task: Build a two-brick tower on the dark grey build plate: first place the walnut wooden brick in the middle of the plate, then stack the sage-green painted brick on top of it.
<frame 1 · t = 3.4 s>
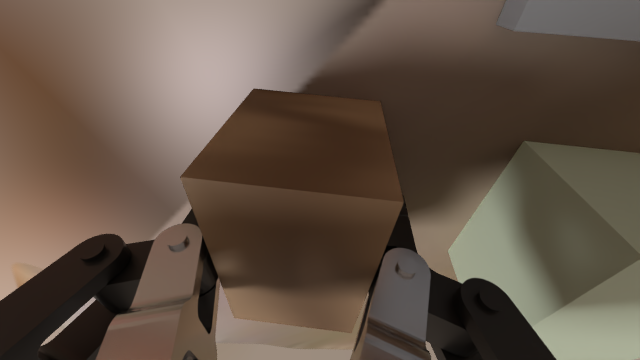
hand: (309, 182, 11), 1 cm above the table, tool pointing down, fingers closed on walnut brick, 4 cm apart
walnut brick: (312, 172, 11), on the table, touching gripper
sage brick: (526, 210, 11), on the table
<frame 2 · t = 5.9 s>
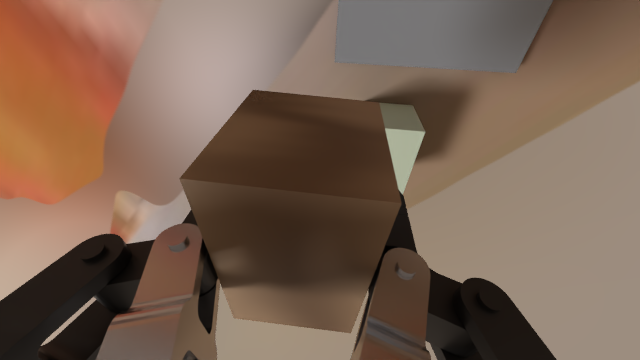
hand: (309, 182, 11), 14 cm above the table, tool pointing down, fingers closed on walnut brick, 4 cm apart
walnut brick: (311, 173, 11), point 14 cm above the table, touching gripper
sage brick: (380, 136, 25), on the table
when the fingers open (3 cm above the table, at t = 8.5 s): walnut brick drops 1 cm, resting on build plate.
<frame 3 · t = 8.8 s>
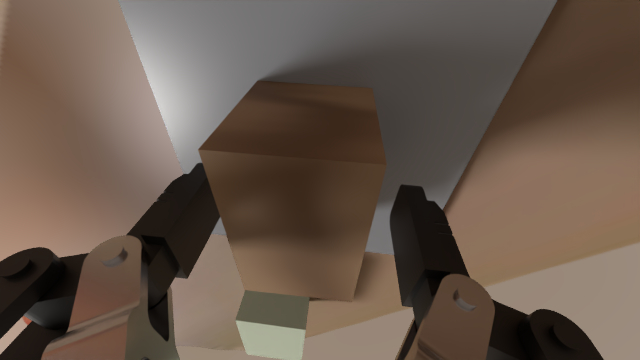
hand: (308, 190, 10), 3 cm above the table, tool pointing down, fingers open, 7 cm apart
build plate: (316, 146, 13), on the table
walnut brick: (312, 158, 12), point 1 cm above the table, touching build plate
sage brick: (286, 278, 22), on the table
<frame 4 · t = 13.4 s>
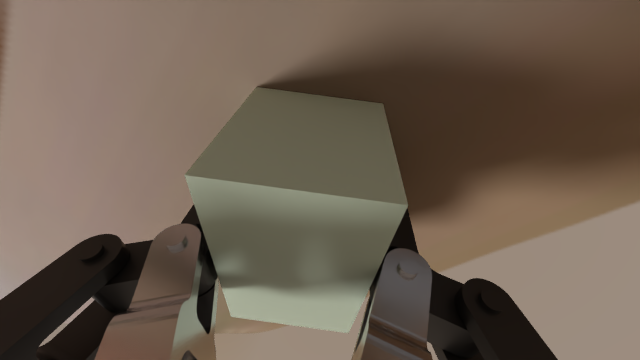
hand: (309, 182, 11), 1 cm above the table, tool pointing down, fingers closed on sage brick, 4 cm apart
sage brick: (312, 172, 11), on the table, touching gripper
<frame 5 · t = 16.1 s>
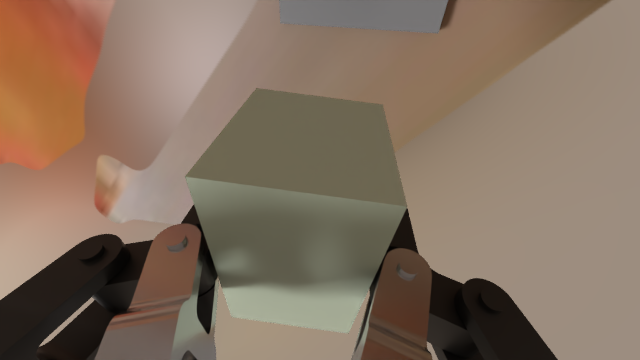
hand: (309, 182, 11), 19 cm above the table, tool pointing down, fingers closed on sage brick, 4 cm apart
sage brick: (312, 173, 11), point 18 cm above the table, touching gripper
when the fingers open (8 cm above the table, at t = 18.9 s): sage brick drops 1 cm, resting on walnut brick.
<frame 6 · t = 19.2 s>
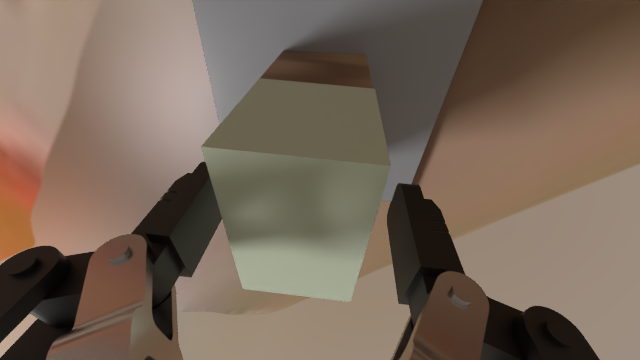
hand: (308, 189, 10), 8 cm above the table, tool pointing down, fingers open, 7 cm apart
build plate: (324, 106, 17), on the table
walnut brick: (322, 113, 16), point 1 cm above the table, touching build plate, sage brick
sage brick: (313, 157, 12), point 6 cm above the table, touching walnut brick
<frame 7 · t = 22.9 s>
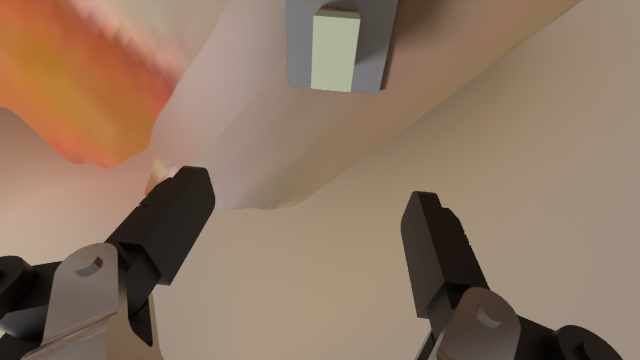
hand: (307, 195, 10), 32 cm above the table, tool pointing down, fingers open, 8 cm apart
build plate: (338, 36, 34), on the table
sage brick: (335, 46, 30), point 6 cm above the table, touching walnut brick
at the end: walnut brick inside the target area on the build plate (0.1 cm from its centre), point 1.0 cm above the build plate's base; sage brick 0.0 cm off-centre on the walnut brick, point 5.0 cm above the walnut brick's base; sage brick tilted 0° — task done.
